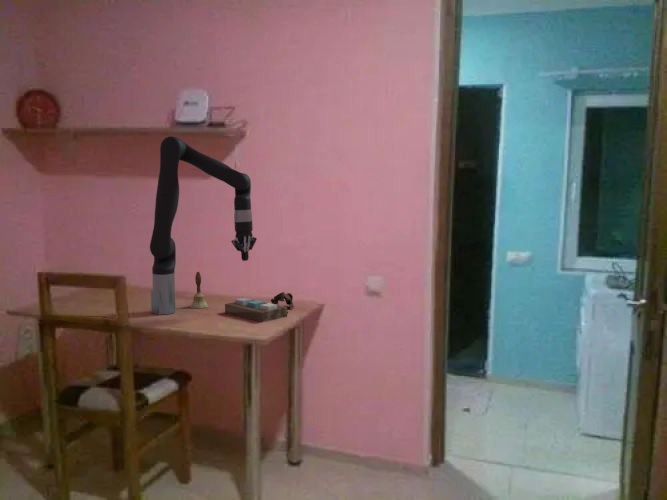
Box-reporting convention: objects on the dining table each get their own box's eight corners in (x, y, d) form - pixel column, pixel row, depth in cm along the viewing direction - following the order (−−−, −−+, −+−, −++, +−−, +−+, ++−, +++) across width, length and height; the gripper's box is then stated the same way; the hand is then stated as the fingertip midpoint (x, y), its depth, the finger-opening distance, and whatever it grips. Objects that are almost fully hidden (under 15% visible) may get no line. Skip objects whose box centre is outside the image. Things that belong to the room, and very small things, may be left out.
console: (263, 322, 251) (263, 312, 250) (225, 312, 266) (224, 303, 265) (287, 316, 261) (287, 307, 261) (249, 307, 276) (249, 299, 276)
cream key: (268, 311, 254) (268, 306, 254) (260, 310, 258) (260, 304, 257) (277, 309, 258) (277, 304, 258) (268, 308, 261) (268, 303, 261)
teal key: (255, 308, 260) (255, 303, 259) (247, 307, 263) (247, 302, 263) (264, 307, 263) (264, 302, 263) (256, 305, 267) (256, 300, 266)
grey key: (242, 306, 265) (242, 301, 264) (235, 304, 268) (235, 299, 268) (251, 304, 268) (251, 299, 268) (243, 302, 272) (243, 297, 271)
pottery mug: (289, 312, 271) (280, 296, 270) (274, 319, 276) (264, 303, 274) (301, 300, 281) (292, 285, 280) (286, 307, 286) (277, 292, 285)
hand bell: (193, 309, 272) (192, 274, 270) (187, 306, 279) (186, 271, 277) (211, 307, 276) (210, 272, 274) (204, 304, 283) (204, 270, 281)
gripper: (248, 218, 269) (250, 258, 271) (225, 221, 259) (227, 261, 261) (260, 219, 264) (262, 259, 266) (237, 221, 254) (239, 263, 256)
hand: (245, 260), depth 264 cm, fingers closed
